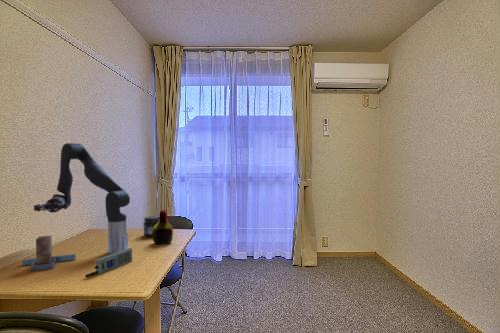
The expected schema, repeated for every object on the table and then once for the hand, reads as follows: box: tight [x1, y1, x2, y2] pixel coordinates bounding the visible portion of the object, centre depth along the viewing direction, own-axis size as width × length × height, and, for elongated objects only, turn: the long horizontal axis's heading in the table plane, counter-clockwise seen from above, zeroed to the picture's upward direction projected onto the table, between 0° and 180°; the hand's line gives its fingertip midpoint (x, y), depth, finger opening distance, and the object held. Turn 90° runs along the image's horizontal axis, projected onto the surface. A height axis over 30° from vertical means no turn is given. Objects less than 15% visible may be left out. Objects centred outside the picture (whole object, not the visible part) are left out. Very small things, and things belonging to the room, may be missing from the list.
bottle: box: [152, 209, 174, 245], centre depth 182 cm, size 12×6×20 cm, turn 98°
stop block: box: [35, 235, 53, 265], centre depth 142 cm, size 5×5×14 cm
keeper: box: [21, 253, 77, 272], centre depth 144 cm, size 22×12×2 cm, turn 113°
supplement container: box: [143, 215, 159, 238], centre depth 200 cm, size 10×10×12 cm
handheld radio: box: [85, 247, 133, 279], centre depth 140 cm, size 7×3×25 cm
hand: (48, 208), depth 151 cm, fingers open, 8 cm apart
